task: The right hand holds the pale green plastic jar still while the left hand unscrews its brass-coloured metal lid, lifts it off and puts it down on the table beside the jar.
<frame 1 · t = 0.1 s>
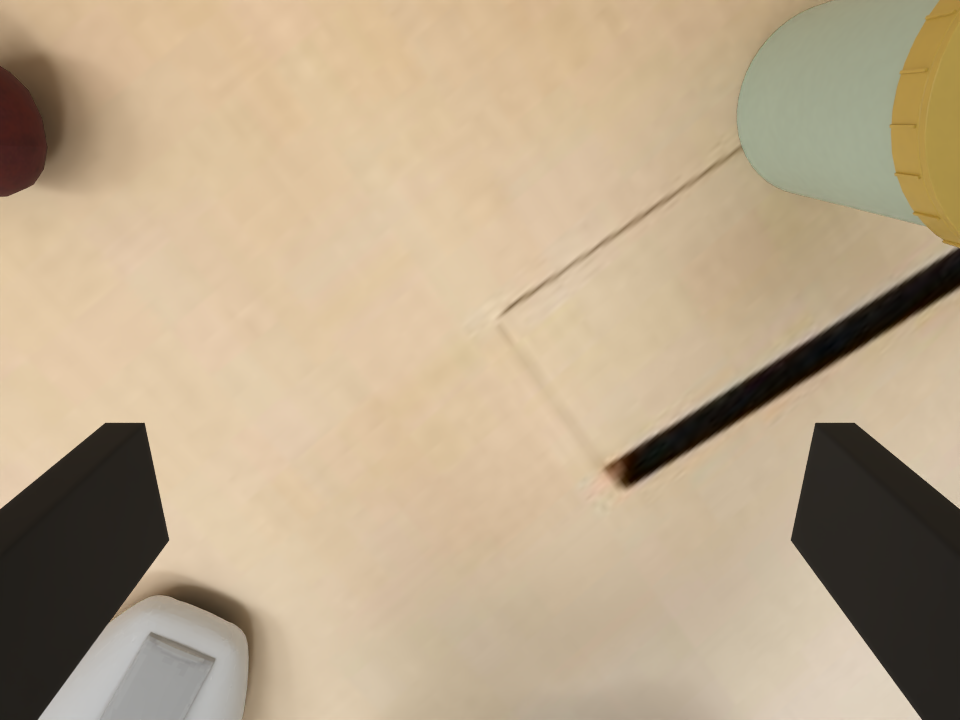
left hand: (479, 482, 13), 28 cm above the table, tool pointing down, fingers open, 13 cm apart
projector: (154, 691, 52), on the table
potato: (11, 125, 37), on the table
jar: (827, 103, 36), on the table
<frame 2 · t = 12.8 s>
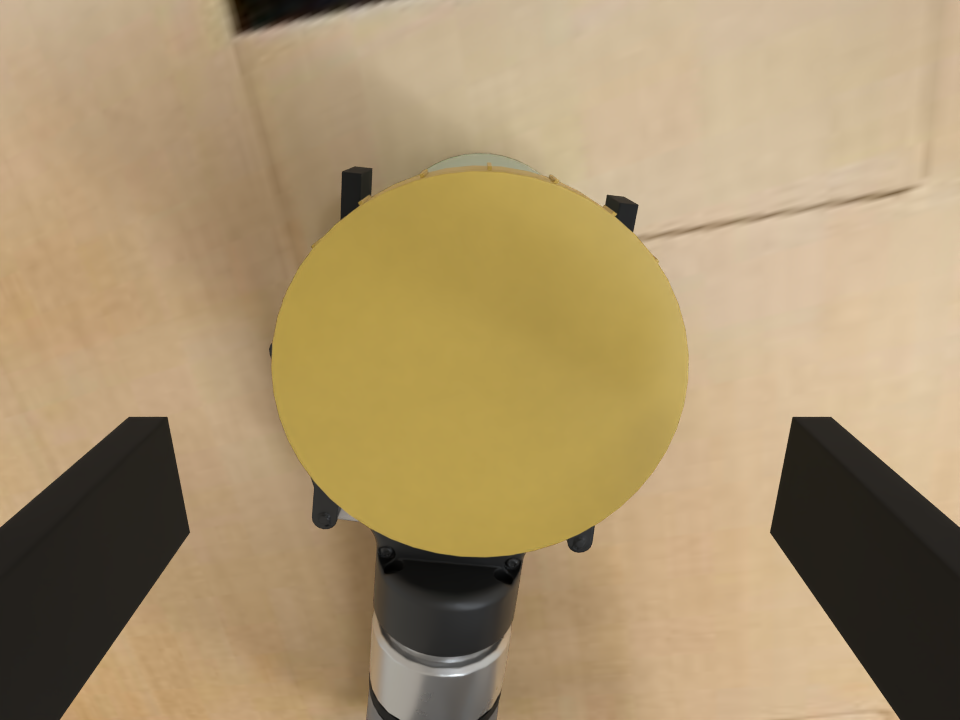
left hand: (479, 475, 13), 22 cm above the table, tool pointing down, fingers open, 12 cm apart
lid: (479, 381, 18), point 17 cm above the table, screwed on, not yet turned
jar: (479, 255, 33), on the table, touching right hand
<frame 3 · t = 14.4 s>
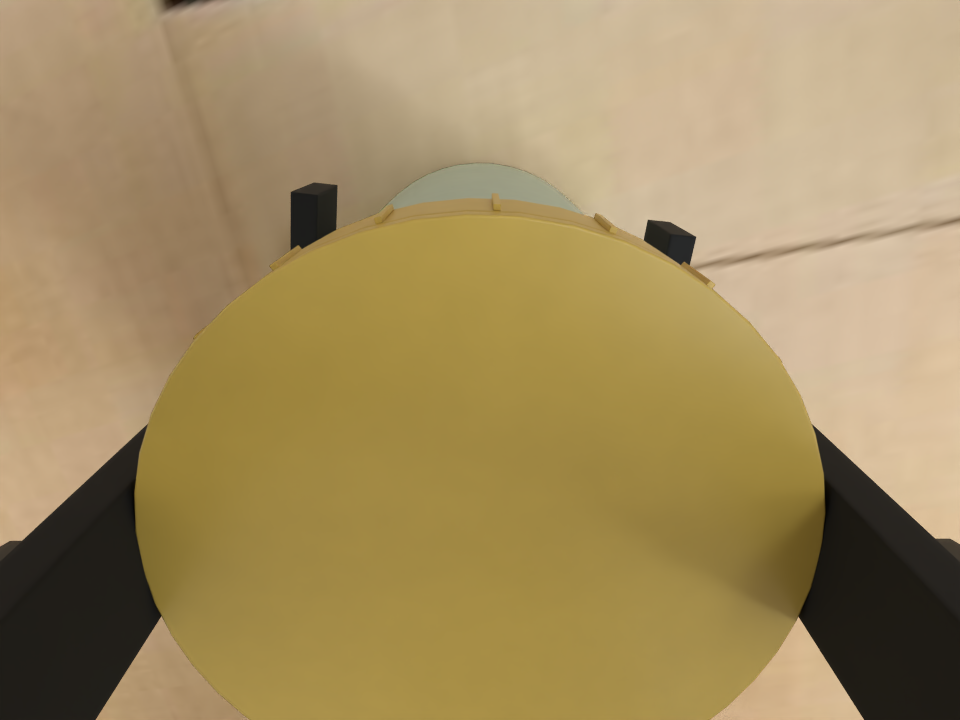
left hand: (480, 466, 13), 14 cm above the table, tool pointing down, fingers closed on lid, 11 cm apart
lid: (479, 546, 11), point 17 cm above the table, screwed on, not yet turned, touching left hand
jar: (480, 289, 27), on the table, touching right hand
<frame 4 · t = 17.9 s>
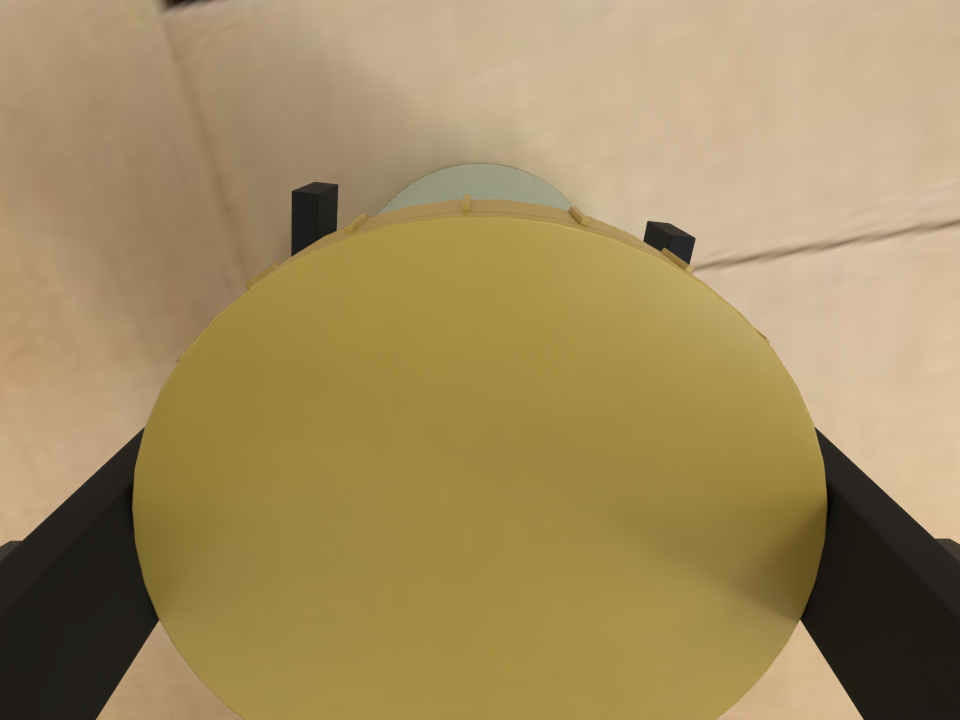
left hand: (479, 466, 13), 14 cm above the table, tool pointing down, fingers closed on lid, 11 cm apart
lid: (479, 549, 11), point 17 cm above the table, turned 108° so far, risen 0.1 cm, still on its thread, touching left hand
jar: (479, 290, 27), on the table, touching right hand
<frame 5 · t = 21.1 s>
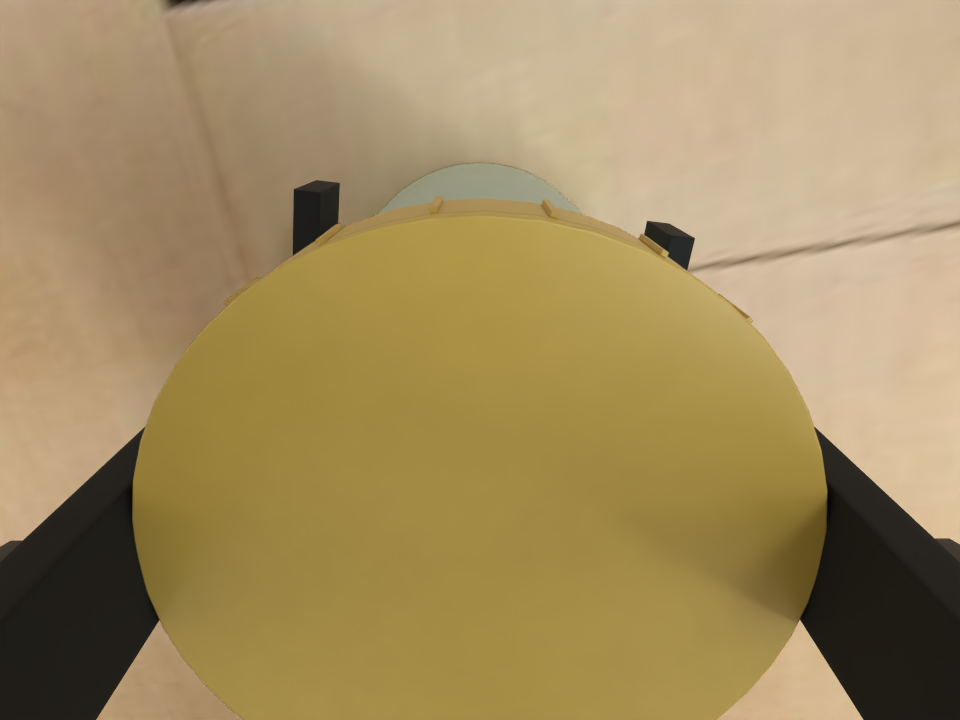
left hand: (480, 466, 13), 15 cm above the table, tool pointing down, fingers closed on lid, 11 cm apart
lid: (479, 549, 11), point 17 cm above the table, turned 215° so far, risen 0.2 cm, still on its thread, touching left hand
jar: (479, 289, 27), on the table, touching right hand
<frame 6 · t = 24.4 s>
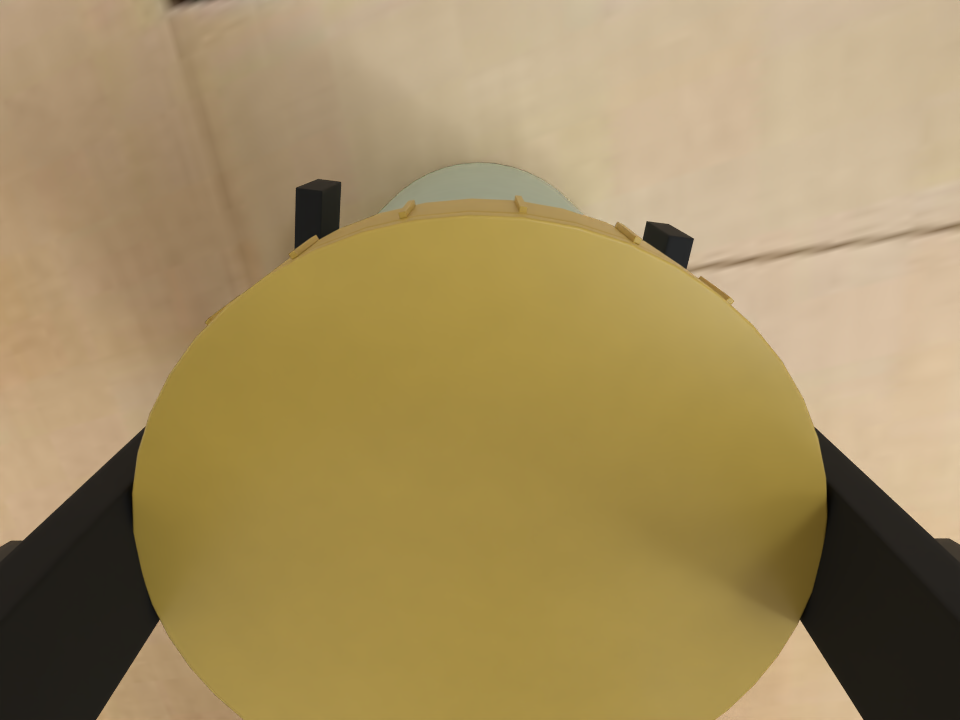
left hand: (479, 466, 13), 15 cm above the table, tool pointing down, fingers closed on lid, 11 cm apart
lid: (479, 549, 11), point 17 cm above the table, turned 323° so far, risen 0.4 cm, still on its thread, touching left hand
jar: (479, 288, 27), on the table, touching right hand
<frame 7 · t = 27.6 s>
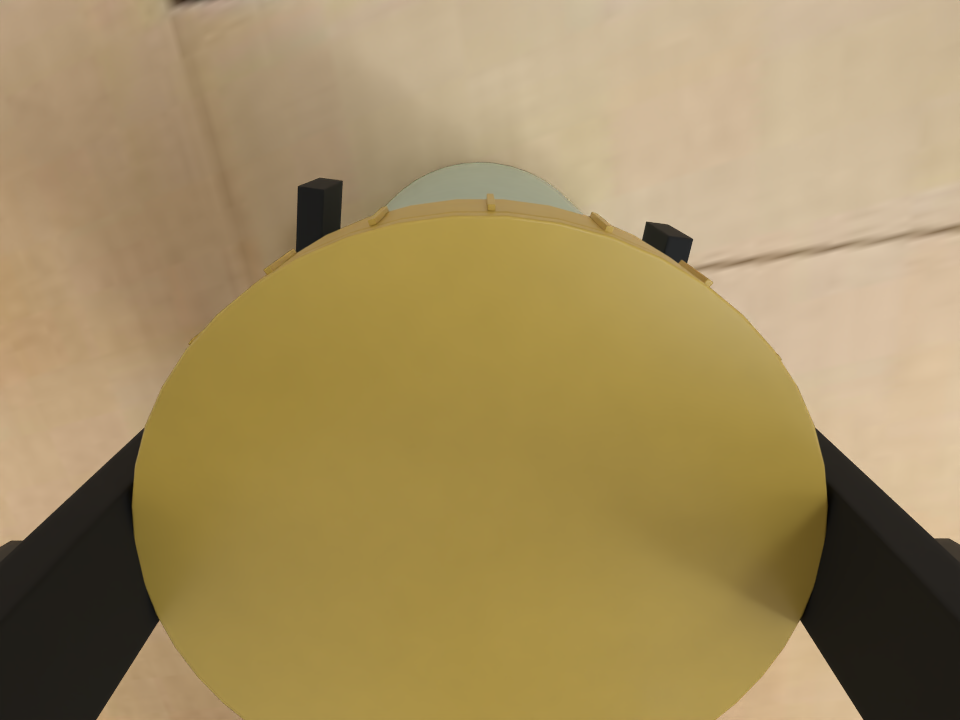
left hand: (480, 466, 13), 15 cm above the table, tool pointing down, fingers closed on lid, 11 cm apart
lid: (479, 549, 11), point 18 cm above the table, turned 431° so far, risen 0.5 cm, still on its thread, touching left hand
jar: (479, 287, 27), on the table, touching right hand
when the left hand's fingers open (0 cm above the table, at t = 34.1 s): lid drops 1 cm, point 2 cm above the table.
when the right hand's fingers open (6 cm above the table, at t = 35.1 s): jar stays where it is, on the table.
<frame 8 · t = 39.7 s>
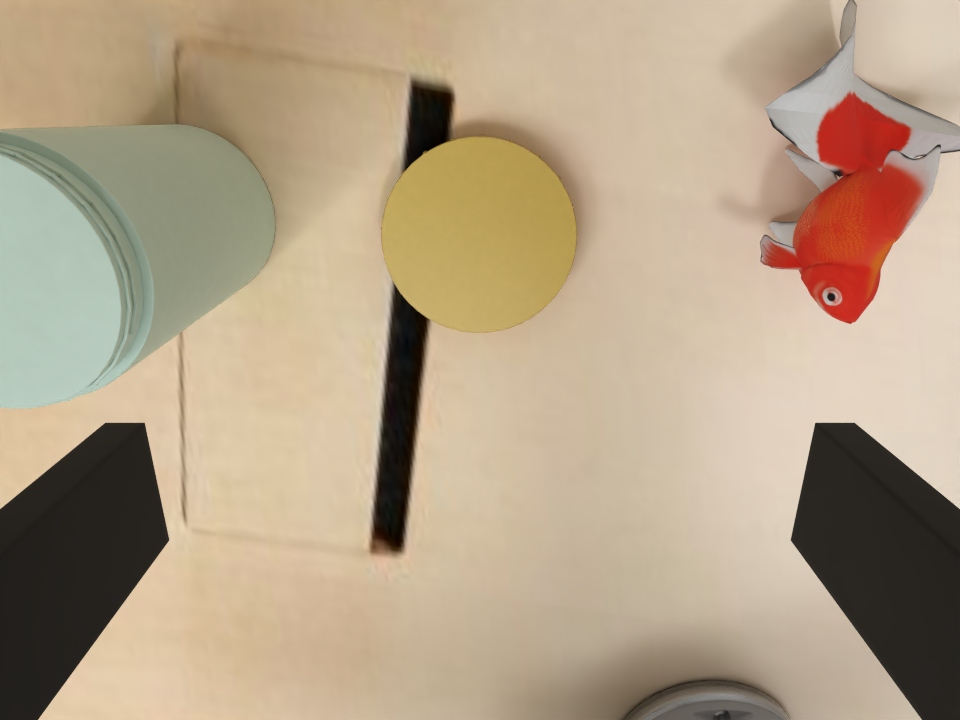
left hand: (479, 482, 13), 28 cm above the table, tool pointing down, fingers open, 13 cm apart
fish: (806, 160, 37), on the table
lid: (479, 239, 37), point 2 cm above the table, off its thread
jar: (189, 215, 38), on the table
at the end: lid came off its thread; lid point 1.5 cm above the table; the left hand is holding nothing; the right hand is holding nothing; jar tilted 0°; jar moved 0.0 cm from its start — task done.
